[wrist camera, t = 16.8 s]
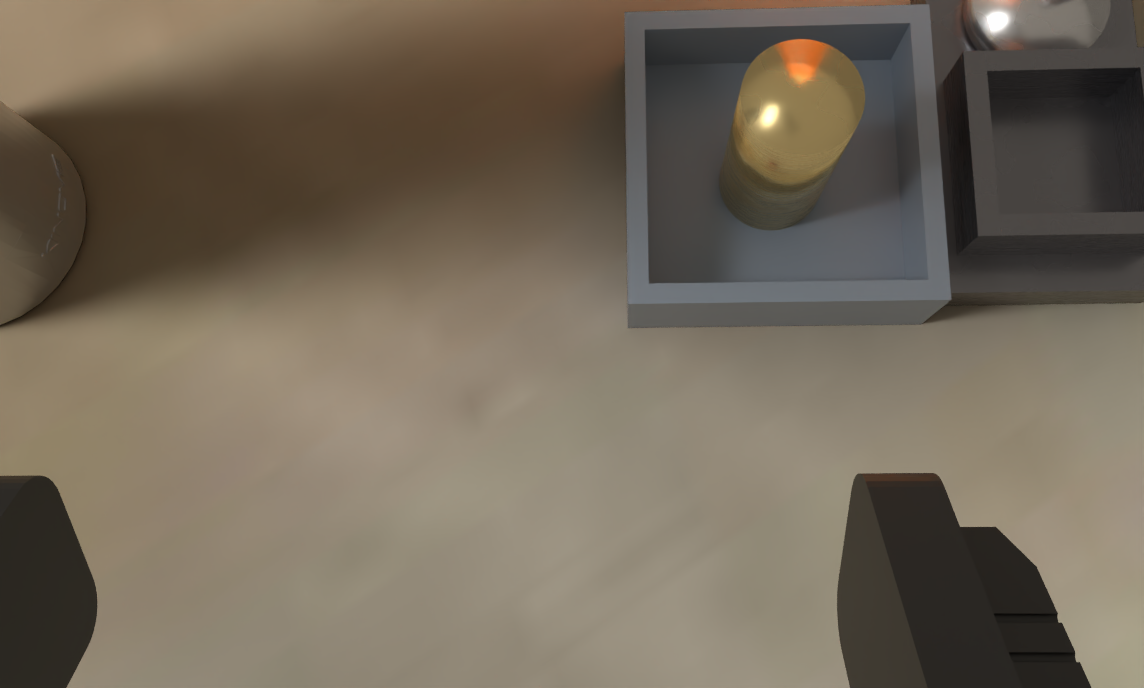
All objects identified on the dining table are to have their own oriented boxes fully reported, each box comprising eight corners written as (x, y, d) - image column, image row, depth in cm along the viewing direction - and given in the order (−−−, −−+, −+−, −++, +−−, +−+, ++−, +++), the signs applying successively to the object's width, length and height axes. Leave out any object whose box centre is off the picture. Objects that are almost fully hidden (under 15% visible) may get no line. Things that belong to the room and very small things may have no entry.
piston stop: (720, 231, 42) (742, 155, 34) (717, 136, 43) (737, 40, 35) (823, 229, 42) (869, 152, 34) (817, 133, 43) (861, 37, 35)
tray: (628, 327, 43) (628, 303, 39) (624, 60, 45) (624, 11, 41) (920, 324, 42) (951, 299, 38) (902, 53, 44) (929, 4, 40)
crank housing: (932, 305, 42) (984, 262, 36) (909, -19, 45) (953, -110, 39) (1140, 302, 42) (1228, 258, 36) (1103, -24, 45) (1179, -116, 39)
